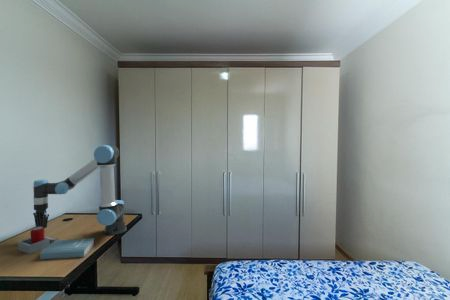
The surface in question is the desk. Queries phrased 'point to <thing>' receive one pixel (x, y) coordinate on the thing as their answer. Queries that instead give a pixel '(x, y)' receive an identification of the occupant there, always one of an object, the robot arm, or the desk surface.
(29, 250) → the tray
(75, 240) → the book
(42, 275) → the desk surface
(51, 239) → the gate bar
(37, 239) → the beverage can
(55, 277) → the desk surface
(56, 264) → the desk surface
